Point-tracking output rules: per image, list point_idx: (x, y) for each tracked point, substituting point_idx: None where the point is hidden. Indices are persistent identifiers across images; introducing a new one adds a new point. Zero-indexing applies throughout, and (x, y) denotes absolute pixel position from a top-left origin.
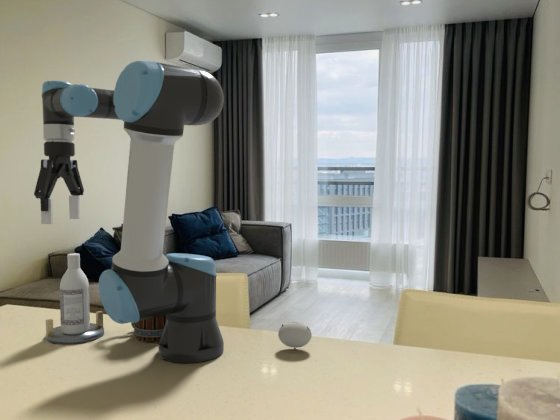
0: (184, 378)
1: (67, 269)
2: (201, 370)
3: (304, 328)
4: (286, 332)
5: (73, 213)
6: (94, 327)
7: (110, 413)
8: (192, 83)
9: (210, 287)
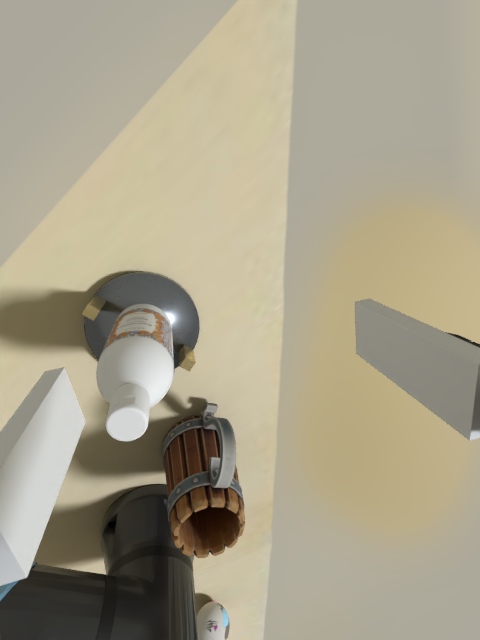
0: (61, 564)
1: (114, 387)
2: (95, 564)
3: None
4: (198, 632)
5: (374, 336)
6: (177, 346)
7: None
8: None
9: None
